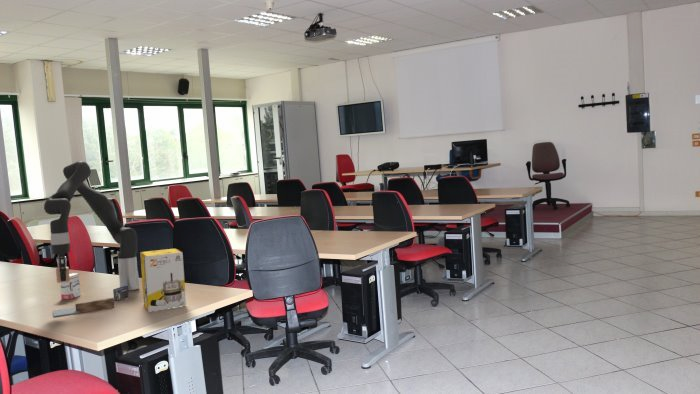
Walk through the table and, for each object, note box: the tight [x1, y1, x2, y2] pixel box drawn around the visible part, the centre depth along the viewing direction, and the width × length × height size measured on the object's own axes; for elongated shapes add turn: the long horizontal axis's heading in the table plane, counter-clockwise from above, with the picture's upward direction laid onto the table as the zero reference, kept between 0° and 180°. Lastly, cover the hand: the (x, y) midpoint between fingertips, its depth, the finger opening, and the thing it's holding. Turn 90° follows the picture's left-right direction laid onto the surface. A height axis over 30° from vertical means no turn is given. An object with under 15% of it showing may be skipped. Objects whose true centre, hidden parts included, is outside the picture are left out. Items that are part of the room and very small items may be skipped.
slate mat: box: [52, 306, 80, 318], centre depth 254 cm, size 10×12×1 cm
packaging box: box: [139, 248, 187, 313], centre depth 257 cm, size 16×16×25 cm
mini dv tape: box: [112, 286, 129, 302], centre depth 275 cm, size 8×2×6 cm, turn 160°
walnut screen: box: [75, 297, 115, 313], centre depth 257 cm, size 16×2×4 cm, turn 120°
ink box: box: [60, 272, 81, 300], centre depth 285 cm, size 9×5×12 cm, turn 168°
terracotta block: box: [55, 266, 70, 284], centre depth 253 cm, size 5×5×6 cm
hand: (63, 279), depth 253 cm, fingers closed on terracotta block, 5 cm apart
